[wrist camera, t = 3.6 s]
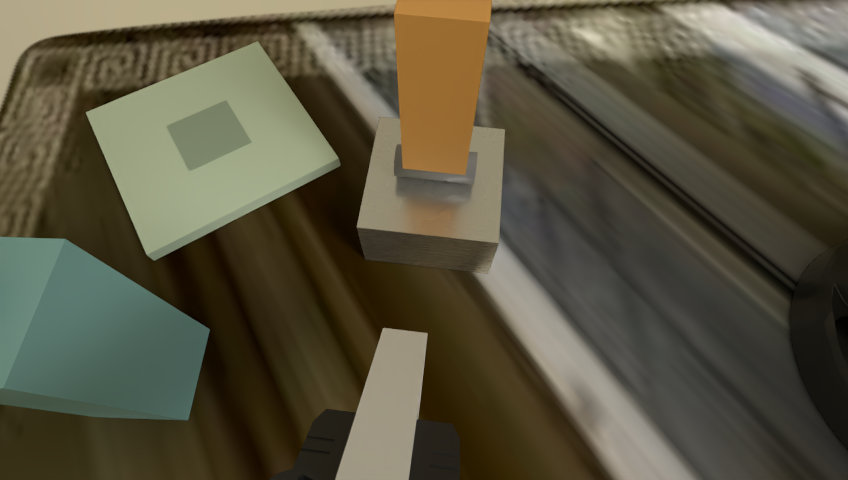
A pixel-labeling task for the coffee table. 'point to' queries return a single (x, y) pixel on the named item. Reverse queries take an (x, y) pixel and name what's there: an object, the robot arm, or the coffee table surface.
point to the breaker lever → (439, 86)
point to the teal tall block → (90, 337)
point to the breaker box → (432, 208)
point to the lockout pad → (208, 147)
